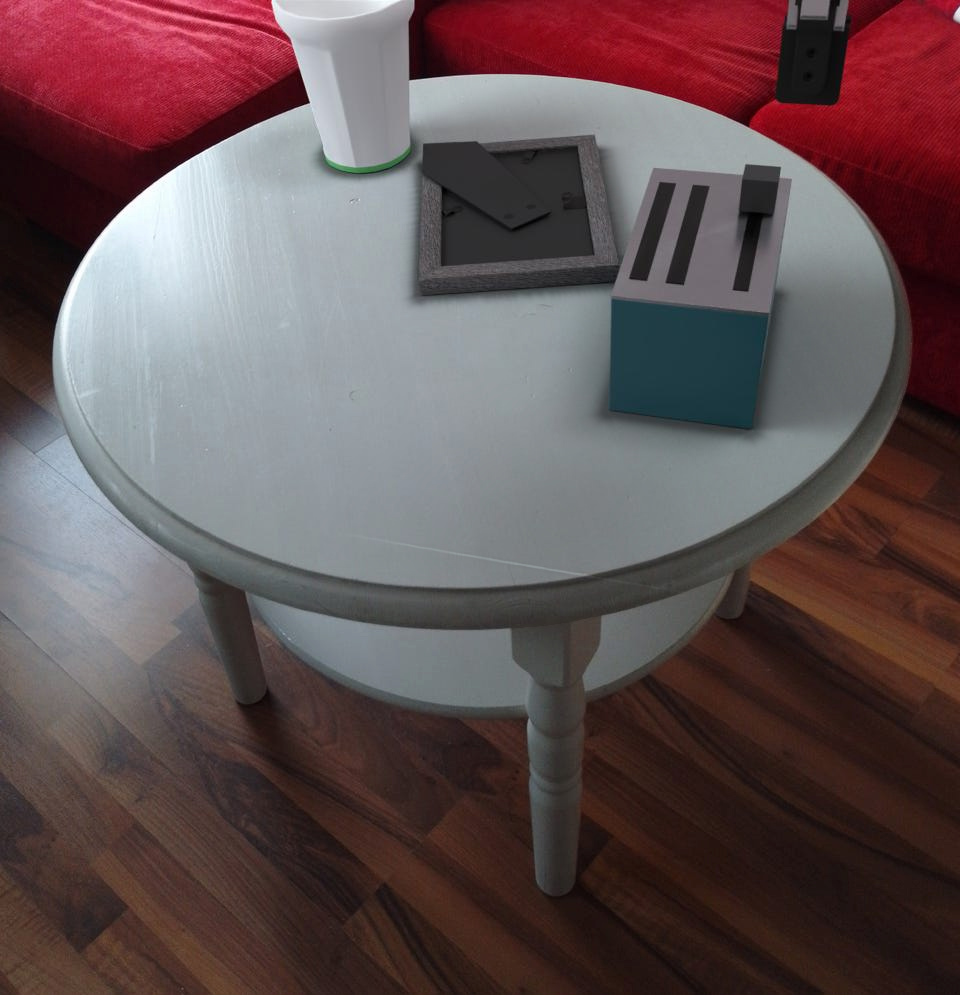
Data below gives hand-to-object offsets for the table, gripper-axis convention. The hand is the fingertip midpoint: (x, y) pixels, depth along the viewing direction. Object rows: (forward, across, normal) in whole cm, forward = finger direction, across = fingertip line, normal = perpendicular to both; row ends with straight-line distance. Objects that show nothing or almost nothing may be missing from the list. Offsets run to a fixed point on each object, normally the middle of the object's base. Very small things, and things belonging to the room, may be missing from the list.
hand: (807, 96), depth 57 cm
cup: (+23, +32, +41) cm, 57 cm away
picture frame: (+24, +24, +24) cm, 41 cm away
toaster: (+24, +9, +6) cm, 26 cm away
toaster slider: (+14, +12, +3) cm, 19 cm away
